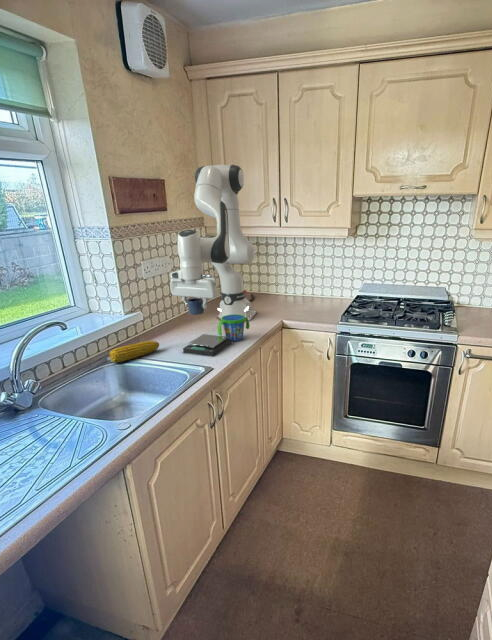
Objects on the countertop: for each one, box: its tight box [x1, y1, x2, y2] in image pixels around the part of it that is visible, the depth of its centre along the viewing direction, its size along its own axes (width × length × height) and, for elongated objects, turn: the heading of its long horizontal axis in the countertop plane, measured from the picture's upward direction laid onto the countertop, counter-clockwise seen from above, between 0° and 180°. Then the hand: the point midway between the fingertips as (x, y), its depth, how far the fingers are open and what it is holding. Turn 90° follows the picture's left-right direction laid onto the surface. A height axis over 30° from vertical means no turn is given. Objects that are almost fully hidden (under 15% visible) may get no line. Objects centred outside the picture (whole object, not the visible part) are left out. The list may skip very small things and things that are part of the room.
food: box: [108, 340, 160, 364], centre depth 165 cm, size 21×6×6 cm, turn 141°
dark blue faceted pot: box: [187, 297, 205, 316], centre depth 169 cm, size 6×6×5 cm
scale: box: [182, 339, 232, 357], centre depth 174 cm, size 16×14×3 cm
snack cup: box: [217, 314, 251, 342], centre depth 182 cm, size 16×10×10 cm
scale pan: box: [187, 333, 228, 348], centre depth 174 cm, size 13×12×1 cm
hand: (196, 307), depth 169 cm, fingers closed on dark blue faceted pot, 6 cm apart
